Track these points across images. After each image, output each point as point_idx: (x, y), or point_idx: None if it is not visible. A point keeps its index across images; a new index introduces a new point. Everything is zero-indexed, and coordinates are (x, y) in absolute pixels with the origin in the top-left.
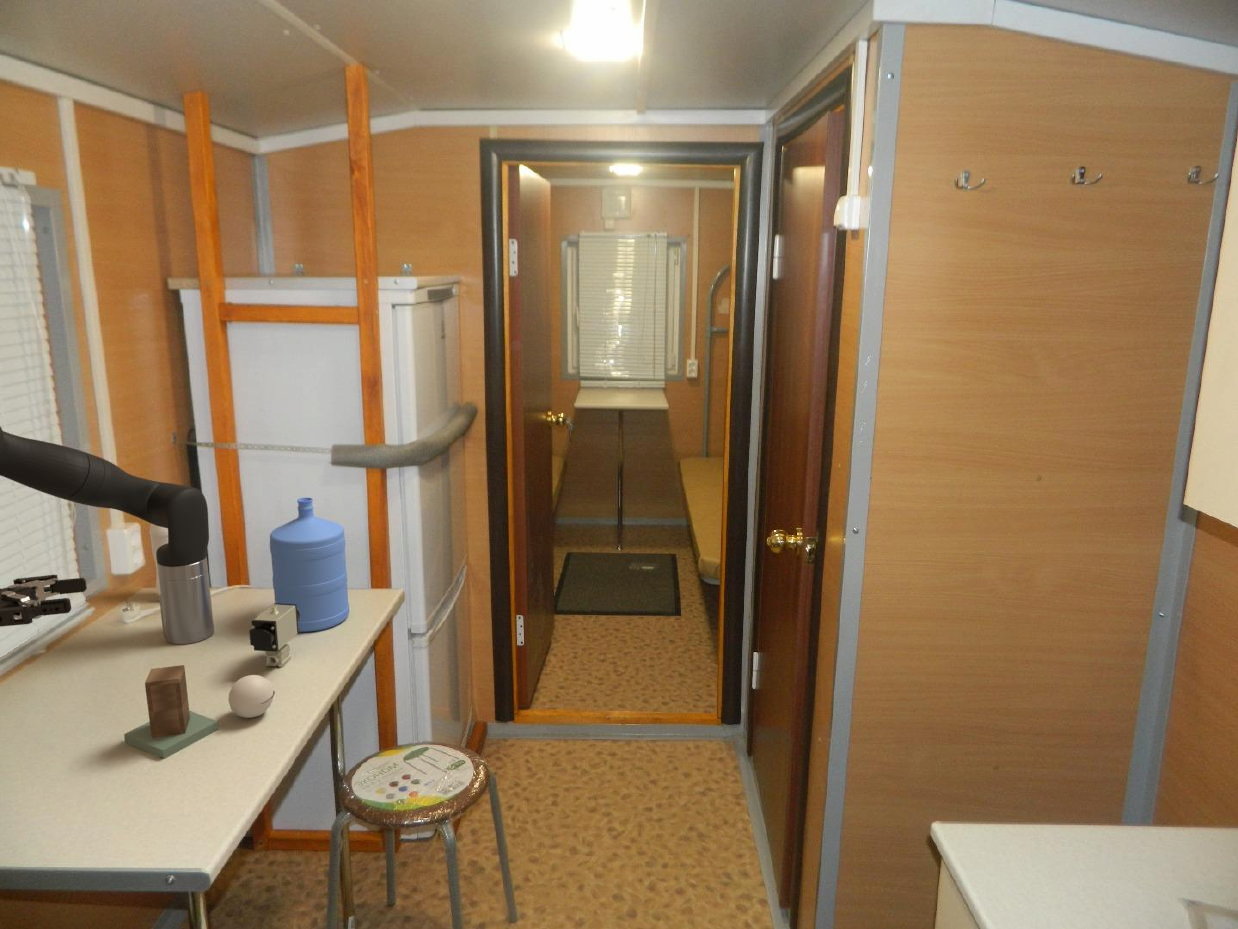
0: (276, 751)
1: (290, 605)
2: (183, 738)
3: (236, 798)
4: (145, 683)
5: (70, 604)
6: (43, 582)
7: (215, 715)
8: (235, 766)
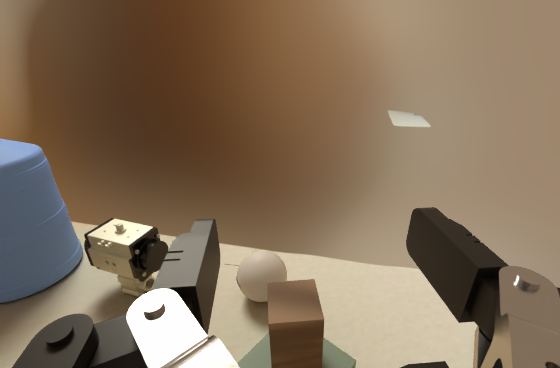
0: (341, 267)
1: (110, 221)
2: (326, 341)
3: (421, 283)
4: (323, 319)
5: (411, 226)
6: (180, 350)
7: (250, 331)
8: (368, 292)
